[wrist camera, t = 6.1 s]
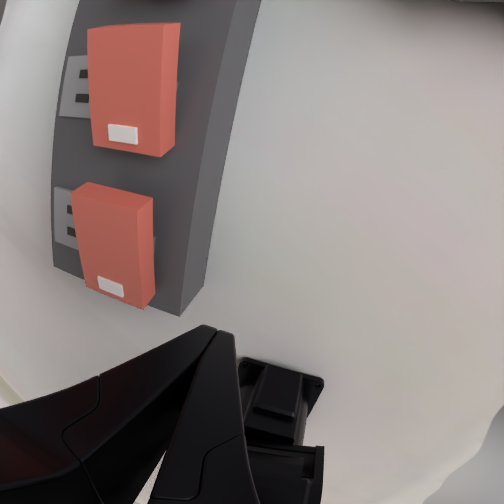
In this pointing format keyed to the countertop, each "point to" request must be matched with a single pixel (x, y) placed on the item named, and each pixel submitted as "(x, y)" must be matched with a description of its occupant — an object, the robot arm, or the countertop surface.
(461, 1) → the toy
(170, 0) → the power strip
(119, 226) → the red rectangular block
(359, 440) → the countertop surface
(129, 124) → the plate
